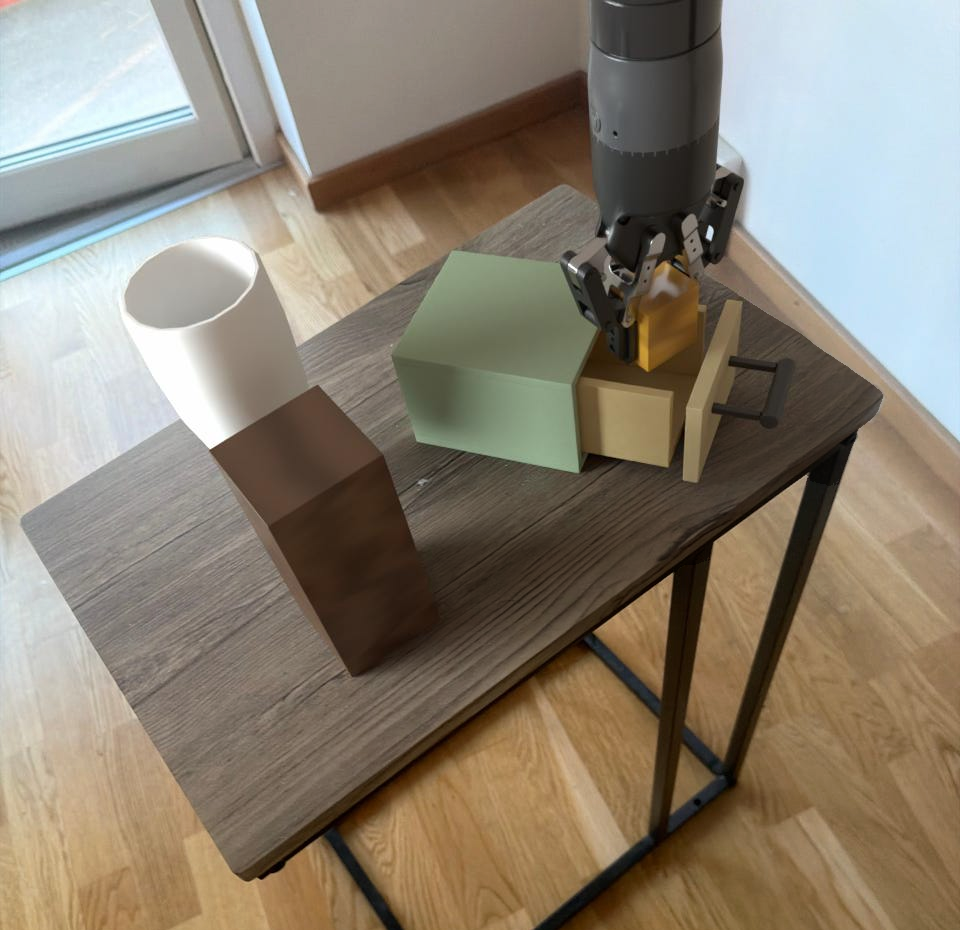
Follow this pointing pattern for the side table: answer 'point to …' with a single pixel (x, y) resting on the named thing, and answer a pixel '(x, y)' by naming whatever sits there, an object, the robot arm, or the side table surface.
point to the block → (666, 316)
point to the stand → (331, 526)
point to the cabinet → (497, 361)
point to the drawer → (672, 397)
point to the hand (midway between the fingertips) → (652, 338)
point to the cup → (213, 334)
